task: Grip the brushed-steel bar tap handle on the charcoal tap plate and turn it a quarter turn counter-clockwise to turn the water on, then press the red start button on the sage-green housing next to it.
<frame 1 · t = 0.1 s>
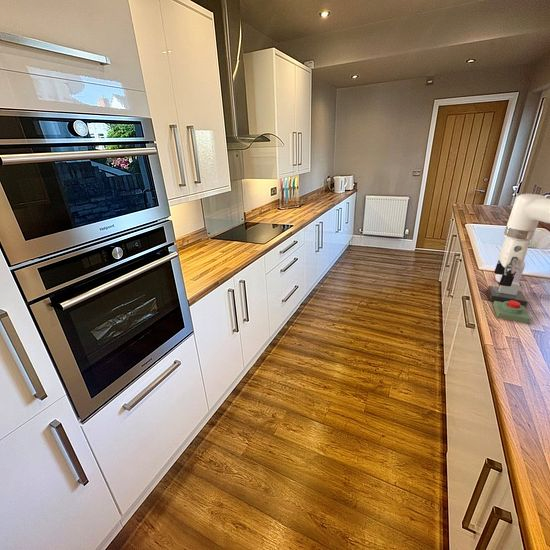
hand: (501, 279, 102), 19 cm above the counter, tool pointing down, fingers open, 9 cm apart
tap handle: (509, 287, 123), point 6 cm above the counter, hinge at 0.0°
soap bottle: (506, 281, 140), on the counter
start button: (513, 304, 114), point 4 cm above the counter, slide at 0.1 cm
button box: (510, 313, 116), on the counter
tap plate: (504, 299, 126), on the counter
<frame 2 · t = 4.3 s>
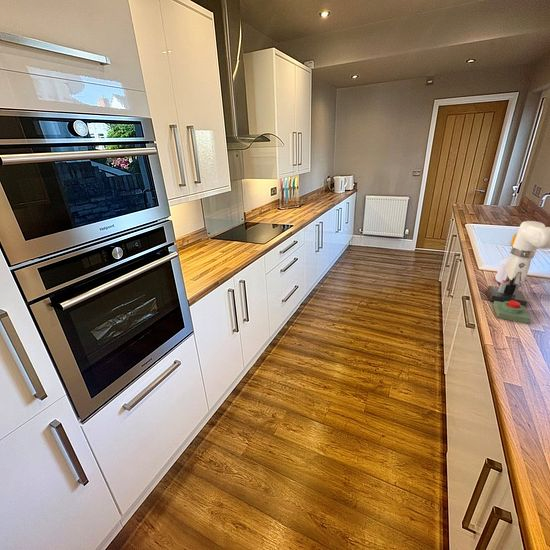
hand: (507, 291, 124), 4 cm above the counter, tool pointing down, fingers closed on tap handle, 2 cm apart
tap handle: (509, 287, 123), point 6 cm above the counter, hinge at 0.0°, touching gripper
everything else where it was.
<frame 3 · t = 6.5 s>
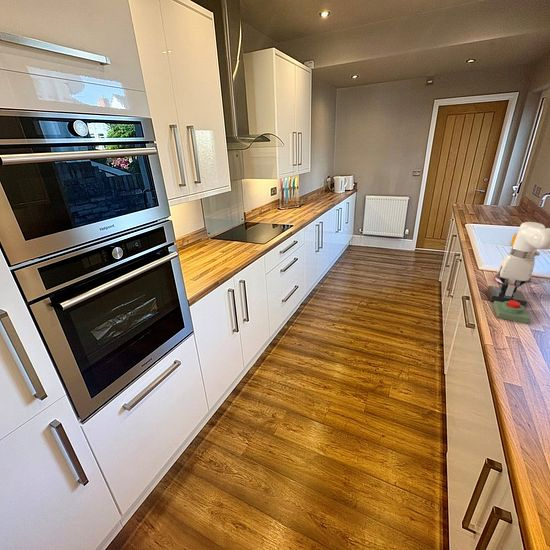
hand: (507, 292, 125), 3 cm above the counter, tool pointing down, fingers closed on tap handle, 2 cm apart
tap handle: (509, 287, 123), point 6 cm above the counter, hinge at 89.5°, touching gripper
everything else where it was.
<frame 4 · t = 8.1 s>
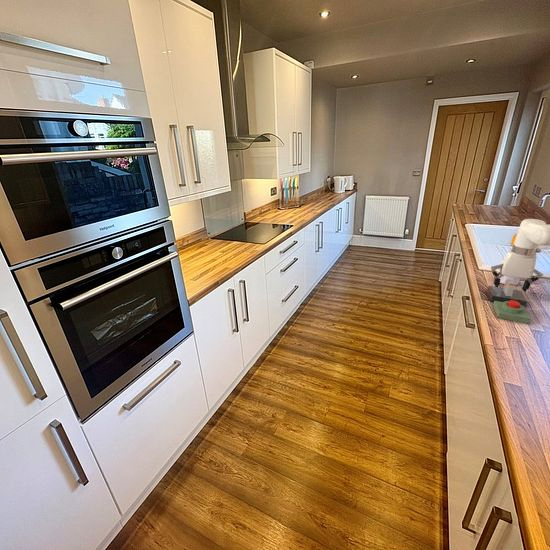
hand: (509, 288, 123), 6 cm above the counter, tool pointing down, fingers open, 9 cm apart
tap handle: (509, 287, 123), point 6 cm above the counter, hinge at 89.6°
everything else where it was.
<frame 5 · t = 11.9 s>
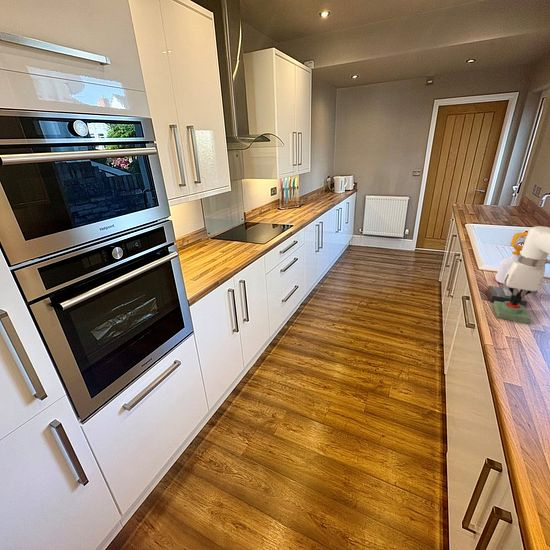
hand: (513, 303, 114), 5 cm above the counter, tool pointing down, fingers closed
start button: (513, 305, 114), point 4 cm above the counter, slide at -0.4 cm, touching gripper
everything else where it was.
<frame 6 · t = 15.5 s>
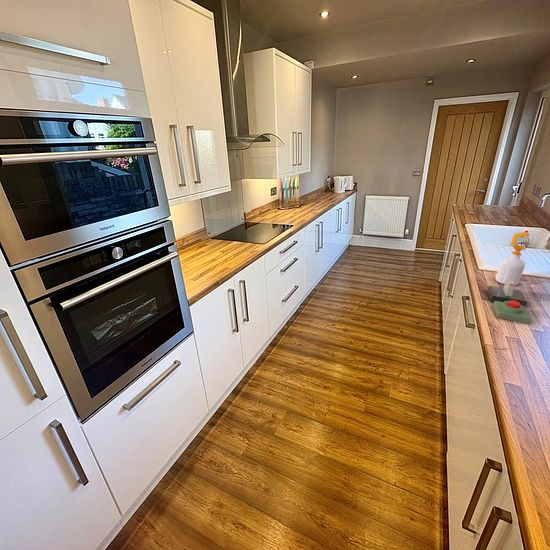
start button: (513, 304, 114), point 4 cm above the counter, slide at 0.1 cm
everything else where it was.
at the end: tap handle at +90° (first picture: +0°); start button pushed in 1.1 cm at the most during the clip, back to where it started at the end; start button slide at 0.1 cm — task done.
